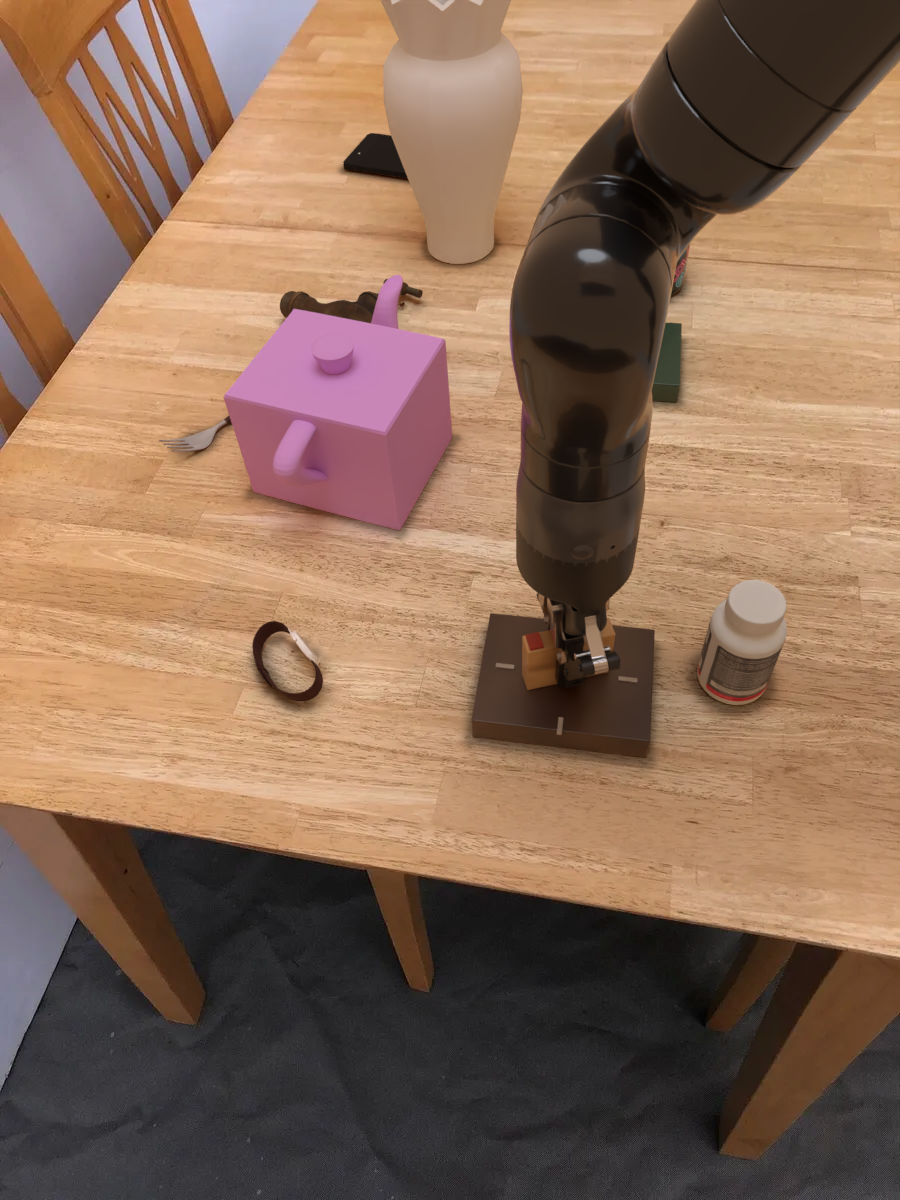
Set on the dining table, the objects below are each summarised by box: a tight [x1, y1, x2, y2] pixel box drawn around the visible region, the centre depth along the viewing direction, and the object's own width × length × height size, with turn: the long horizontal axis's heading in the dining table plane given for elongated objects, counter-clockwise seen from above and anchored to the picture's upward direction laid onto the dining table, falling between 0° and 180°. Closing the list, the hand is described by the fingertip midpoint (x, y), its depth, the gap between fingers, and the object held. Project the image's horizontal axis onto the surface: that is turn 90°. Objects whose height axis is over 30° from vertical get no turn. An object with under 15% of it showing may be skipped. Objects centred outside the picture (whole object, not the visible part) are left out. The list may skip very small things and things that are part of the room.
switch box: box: [651, 322, 683, 403], centre depth 94 cm, size 12×10×4 cm
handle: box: [522, 617, 615, 690], centre depth 68 cm, size 6×2×5 cm, turn 102°
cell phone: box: [342, 132, 408, 180], centre depth 123 cm, size 9×18×1 cm, turn 68°
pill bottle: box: [696, 579, 788, 706], centre depth 68 cm, size 5×5×10 cm
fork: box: [158, 415, 231, 453], centre depth 93 cm, size 3×16×2 cm, turn 135°
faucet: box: [279, 278, 424, 323], centre depth 100 cm, size 5×17×15 cm
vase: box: [380, 0, 524, 265], centre depth 100 cm, size 15×15×29 cm
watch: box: [251, 620, 324, 703], centre depth 73 cm, size 8×5×4 cm, turn 35°
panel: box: [471, 612, 656, 758], centre depth 71 cm, size 13×11×3 cm
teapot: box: [223, 274, 453, 531], centre depth 84 cm, size 15×25×14 cm, turn 158°
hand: (565, 667), depth 70 cm, fingers closed on handle, 2 cm apart
